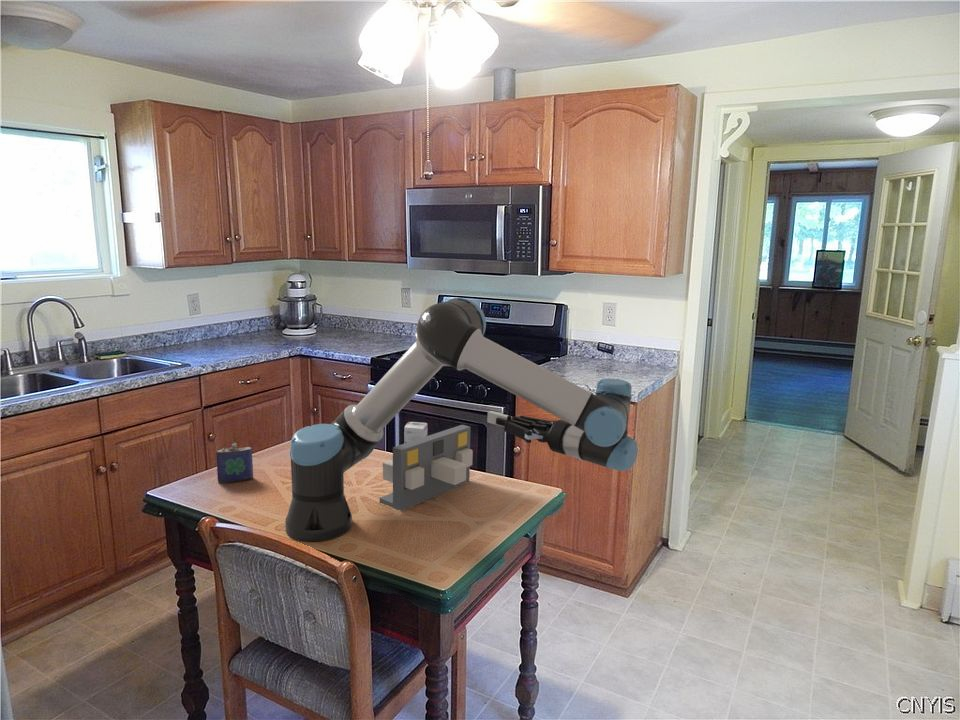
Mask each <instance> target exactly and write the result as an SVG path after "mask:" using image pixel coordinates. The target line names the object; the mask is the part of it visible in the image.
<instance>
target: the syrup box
mask: <svg viewBox="0 0 960 720" xmlns="http://www.w3.org/2000/svg"><path fill="white" fill-rule="evenodd" d="M403 429H404V432H403V435H404V436H403V438H404V442H403V444H405V443H408V442H411V441H414V440H417V439H420V438H423V437H426V436H428V423H427V422H419V421H418V422H417V421H408V422H407V423H406V424H405V425H404V428H403Z"/></svg>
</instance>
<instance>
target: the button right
mask: <svg viewBox="0 0 960 720" xmlns="http://www.w3.org/2000/svg"><path fill="white" fill-rule="evenodd" d="M473 452H474V451H473V449H471V448H470V449H468V448H462V449H459V450H457V451H455V461H458V462H461V463H464V464H466V468H467V467H469V466H470V467H471V466H473V455H474V453H473Z"/></svg>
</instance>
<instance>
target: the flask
mask: <svg viewBox="0 0 960 720" xmlns="http://www.w3.org/2000/svg"><path fill="white" fill-rule="evenodd" d="M237 445H238V443H235V442H233V443H232V444H231V446H230V447H229V448H228V447H227V448H224V447H223V448H222V449H218V450H216V454H215V456H216V469H217V470H216V471H217V472H216V473H217V481H218V484H234V483H237V482H238V483H239V482H247V481H250V480H253V478H254V465H253V462H254V461H253V448H252V447H250V446H247V447H239V448H238V447H237Z"/></svg>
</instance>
